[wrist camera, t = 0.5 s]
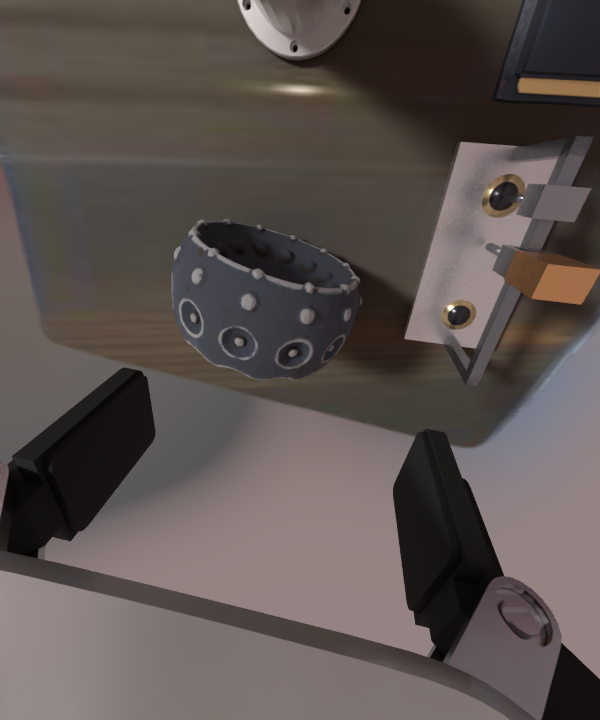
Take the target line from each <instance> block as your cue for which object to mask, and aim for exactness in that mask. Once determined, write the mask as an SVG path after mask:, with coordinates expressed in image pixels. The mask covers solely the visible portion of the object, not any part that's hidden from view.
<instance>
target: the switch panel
mask: <svg viewBox="0 0 600 720" xmlns="http://www.w3.org/2000/svg"><path fill="white" fill-rule="evenodd" d="M593 138H594V137H587V136H573V137H567V138H562V139H557V140H551V141H546V142H541V143H535V144H530V145H525V146H508V145H495V144H483V143H470V142H459V143H457V144H456V148H455V151H454V155H453V158H452V162H451V165H450V169H449V172H448V176H447V179H446V183H445V187H444V190H443V194H442V197H441V201H440V204H439V208H438V211H437V215H436V218H435V222H434V226H433V229H432V233H431V236H430V240H429V243H428V247H427V250H426V254H425V258H424V261H423V265H422V268H421V272H420V275H419V279H418V282H417V286H416V289H415V293H414V297H413V300H412V304H411V307H410V311H409V314H408V318H407V321H406V325H405V328H404V332H403V336H404V339H408V340H416V341H423V342H431V343H438V344H444V346H445V347H446V349H447V351H448V353H449V355H450V357H451V358H452V360H453V362H454V364H455V366H456V368H457V369H458V371H459V373H460V375H461V377H462V379H463V380H464V382H465V384H466V385H471V386H477V385H478V383H479V381H480V379H481V377H482V374H483V372H484V370H485V368H486V366H487V364H488V362H489V360H490V357H491V355H492V353H493V351H494V349H495V347H496V345H497V343H498V340H499V338H500V336H501V334H502V332H503V330H504V328H505V325H506V323H507V321H508V319H509V317H510V315H511V313H512V311H513V308H514V306H515V304H516V302H517V300H518V298H519V296H520V294H521V291H519V290H518V289H516V288H515V287H513V286H512V285H510V284H509V283H507V282H506V281H504V278H503V277H502V276H500V275H499V274H497V273H496V272H494V271H493V270H492V269H493V266H494V264H495V261H496V259H497V256H496V255H494V254H493V253H491V252H489V251H487V250H486V249H485V247H486V245H487V244H488V243H494V244H496V245H498V246H500V247H501V246H502V245H512V246H520V247H519V249H520V250H522V251H530V252H540V251H541V249H542V247H543V245H544V242H545V240H546V238H547V236H548V234H549V232H550V230H551V228H552V225H553V223H554V221H566V222H575V220H576V218H577V216H578V214H579V212H580V210H581V208H582V206H583V204H584V202H585V200H586V198H587V196H588V194H589V192H590V190H591V188H582V187H571V185H572V183H573V181H574V179H575V176H576V174H577V172H578V170H579V168H580V166H581V164H582V162H583V159H584V157H585V155H586V153H587V151H588V149H589V147H590V145H591V142H592V140H593ZM462 347H468V348H476V349H475V351H474V354H473V356H472V358H471V361H470V360H469V358H468V357H467V355H466V353H465V352H464V350H463V349H462Z"/></svg>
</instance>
